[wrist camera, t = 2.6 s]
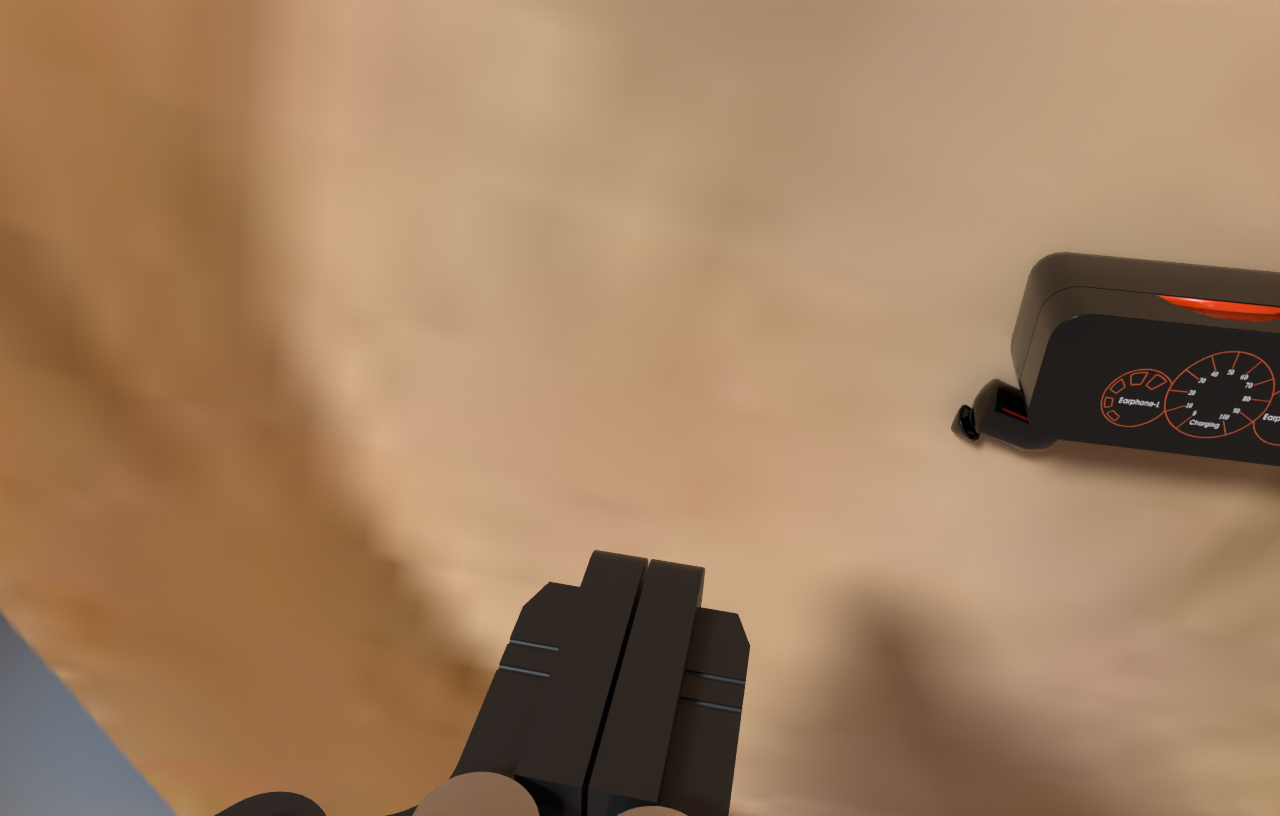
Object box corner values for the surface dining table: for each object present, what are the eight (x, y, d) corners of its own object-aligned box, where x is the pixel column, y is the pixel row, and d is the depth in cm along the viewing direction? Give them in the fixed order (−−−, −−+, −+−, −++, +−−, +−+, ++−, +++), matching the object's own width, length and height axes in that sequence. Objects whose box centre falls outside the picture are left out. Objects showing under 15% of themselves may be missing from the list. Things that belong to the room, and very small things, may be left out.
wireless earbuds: (992, 235, 20) (1011, 305, 18) (1362, 269, 19) (1442, 350, 17) (948, 417, 23) (959, 502, 20) (1271, 456, 22) (1328, 552, 19)
